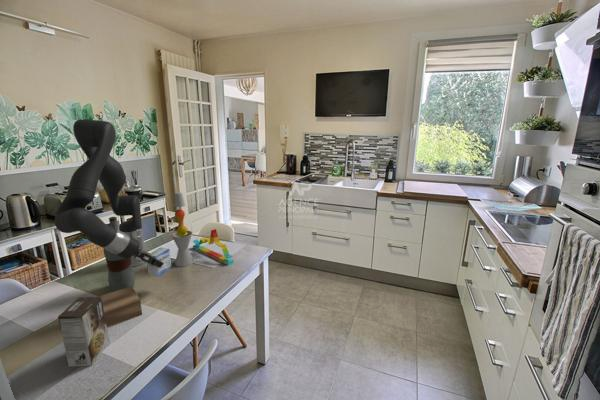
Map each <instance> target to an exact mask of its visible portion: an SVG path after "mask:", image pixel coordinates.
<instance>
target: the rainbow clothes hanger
mask: <svg viewBox="0 0 600 400" xmlns="http://www.w3.org/2000/svg"><path fill="white" fill-rule="evenodd" d="M192 242H193V243H194V245H192V249H194V250H195V251H198V252H200V253H202V254H204V255H206V256H208V257H210V258H213V259H215V260H216V261H218V262H220V263H222V264H225V265H226V266H230V265H232V264H234V260H233V259H232V257H233V255H232V254H231V255H230V253H229V250H228V246H227V244H224V243H222V242H221V241H220V238H219V236H218V232H217V229H216V228H215V229H211V230H210V237H208V238H207V237H202V238H200V240H199V239H198V238H197V239H196V238H195V239H194V240H192ZM206 243H208V245H212V244H215V245H216V246H217V247H219V248H221V249H222V252H223V254H220V253H218V252H215V251H214V250H211V249H210V248H207V247H205V246H203V244H206Z"/></svg>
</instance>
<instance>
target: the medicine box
mask: <svg viewBox="0 0 600 400" xmlns="http://www.w3.org/2000/svg"><path fill="white" fill-rule="evenodd" d="M149 254H151V255H152V257H154V258H156V259H157V260H159V261H161V262H163V263H164V264H163V265H162V267H161V268H159V267H157V266H155V265H154V266H152V265H151V264H149V263H147V269H148V271H147V272H148V275H149V276H152V277H160V276H161V275H163V274H164V273H166V272H167V271H168V270H170V269H171V268H172V262H171V252H170V248H169V247H159V248H158V249H155V250H154V251H152V252H149Z"/></svg>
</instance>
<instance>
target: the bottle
mask: <svg viewBox="0 0 600 400" xmlns="http://www.w3.org/2000/svg"><path fill="white" fill-rule="evenodd" d="M108 220H109V226H111V227H113V228H115V229H116V230H119V224H118V218H117V217H116V216H110V217H109V218H108ZM103 255H104V258H105V261H106V266H107V269H108V272H107V276H108V277H107V279H108V285H109V287H110V288H109V289H110V290H111V291H112V292H114V291H117V290H121V289H124V288H127V287H131V286H132V287H133V288H134V286H135V281H136V280H135V279H136V276H135V272H134V269H133V266H132V265H131V257H130V258H128V259H124V258H122V257H119V256H117V255H115V254H113V253H111V252H109V251H107V250H105V249H104V248H103Z"/></svg>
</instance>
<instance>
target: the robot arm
mask: <svg viewBox="0 0 600 400" xmlns="http://www.w3.org/2000/svg"><path fill="white" fill-rule="evenodd" d="M72 126H73V135H74V138H75V141H76V143H77V144H78V146H79V147H80V149H81V150H82V151H83V153H84V154H85V156H86V157H87V160H86V161H85V162H84V163H82V164H81V165H80V166H79V167H78V168H76V170H75V171H74V173H72V176H71V178H70V181H69V184H68V188H67V191H66V195H65V197H64V198H63V201H62V202H61V204H60V206H59V208H58V209H57V212H56V214H55V217H54V225H55V228H56V229H57V230H58V231H59V232H61V233H64V234H71V233H76V232H81V233H82V234H84V235H85V236H86V239H87V241H89V242H90V243H93V244H94V245H96V246H98V247H101V249H103V250H104V249H105V250H107V251H109V252H111V253H113V254H115V255H117V256H119V257H122V258H124V259H128V258H130V257H131V265H132V267H137V266H140V265H143V264H146V263H149V264H151V265H152V266H154V265H155V266H157V267H159V268H161V267H162V265H163V264H164V263H163V262H161V261H159V260H157V259H156V258H154V257H152V255H151V254H150V252H148V251H146V249H145V247H146V246H145V241H144V233H143V232H144V231H143V225H142V215H141V214H142V213H141V200H140V198H139V196H138V195H136V194H132V195H119V193H120V192H121V190H122V189H123V188H124V186H125V184H126V181H127V176H126V174H125V171H124V167H123V165H122V164H121V163H120V162H119V161H118V160H117V159H116V158H114V157H113V156H111V155H110V154H111V152H112V149H113V148H114V145H115V142H116V135H117V134H116V128H115V126H114V125H113V123H112V122H109V121H105V120H97V119H87V118H86V119H85V118H81V119H77V120H75V122H74V123H73V125H72ZM98 183H100V184H101V186H102V187H103V189H104V191H105V192H104V193H106V196H107V199H108V201H109V202H108V203H109V204H110V207H111V210H112V212H113V214H114V215H115V216H118V217H124V216H125V217H126V216H131V218H130V219H127V220H126V221H125V220H124V221H123V222H121V223H120V224H118V230H116V229H115V228H113V227H111V226H110V224H107V223H105V222H104V221H103V220H102V219H101V218H100V217H99V216H98V215H96V213H94V212H92V211H90V210H89V209H87V206H88V205H89V204H91V203H92V202H94V198H95V196H96V191H97V187H98Z"/></svg>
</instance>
